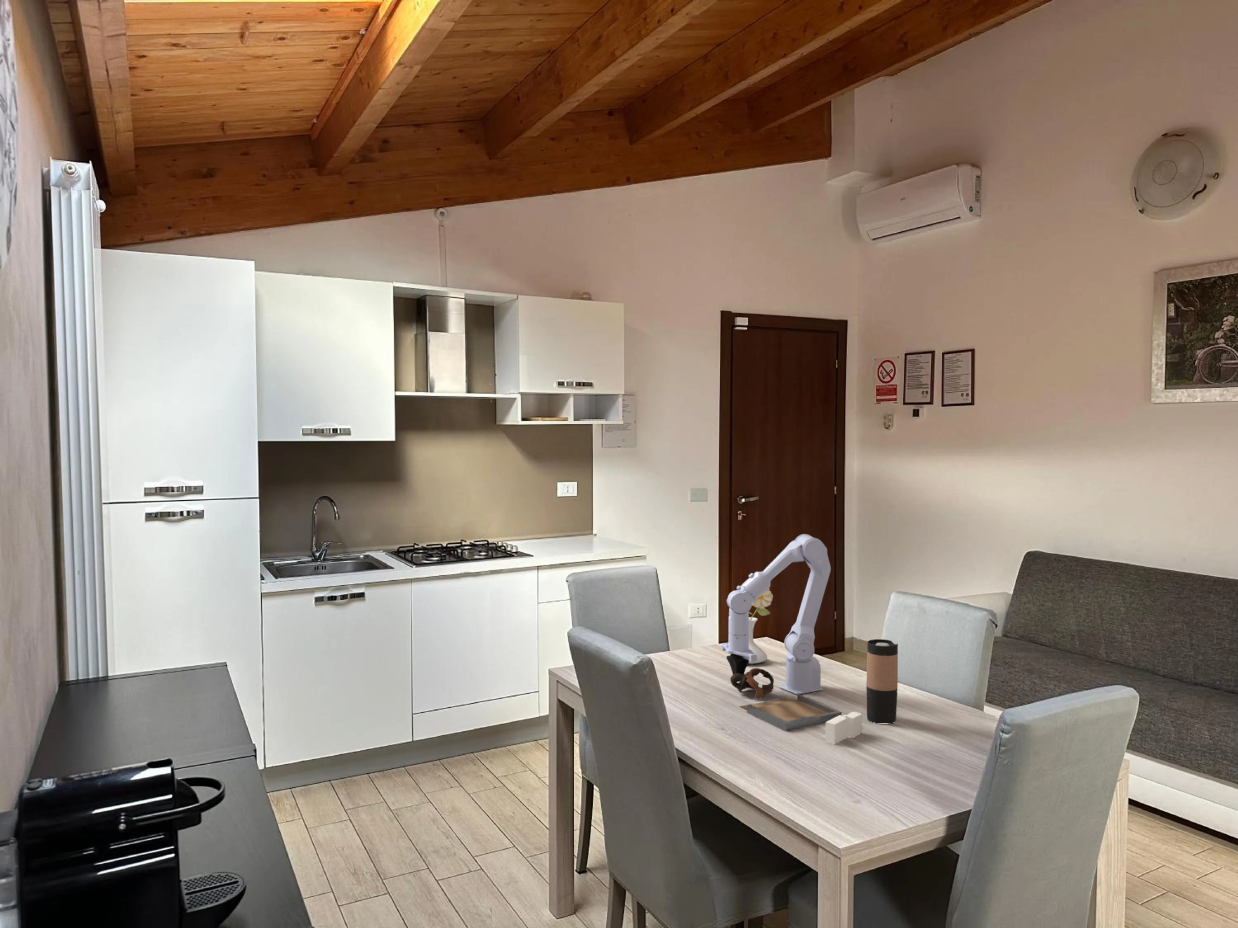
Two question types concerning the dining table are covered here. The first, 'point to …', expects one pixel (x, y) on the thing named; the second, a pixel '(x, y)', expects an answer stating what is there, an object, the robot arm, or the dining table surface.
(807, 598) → the robot arm
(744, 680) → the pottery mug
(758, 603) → the flower in vase
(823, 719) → the curbs
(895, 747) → the dining table surface
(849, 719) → the white stepped block
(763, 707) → the brown flat board
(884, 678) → the travel mug
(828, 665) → the dining table surface
